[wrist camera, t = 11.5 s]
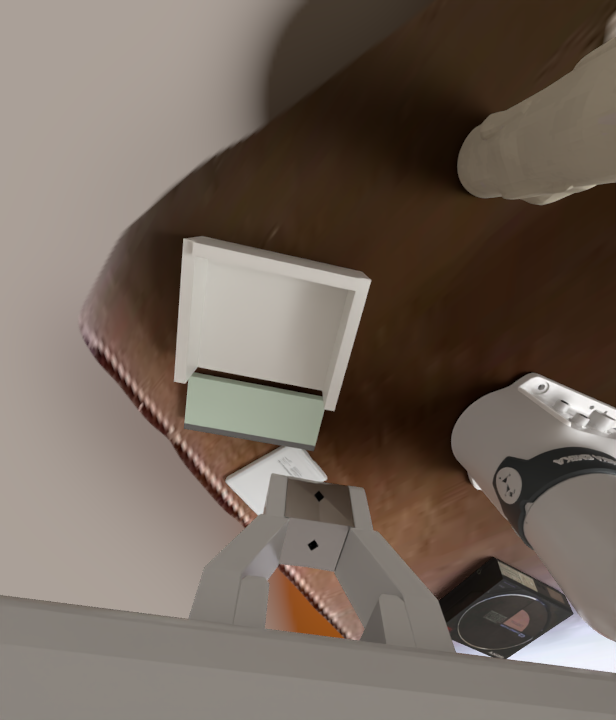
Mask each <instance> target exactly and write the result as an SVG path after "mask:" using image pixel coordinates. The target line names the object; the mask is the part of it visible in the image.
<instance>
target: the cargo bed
mask: <svg viewBox="0 0 616 720" xmlns="http://www.w3.org/2000/svg"><path fill="white" fill-rule="evenodd" d="M370 283H371V279H370V278H368V277H367V276H366V275H365V274H364V273H363V272H362V271H357V270H353V269H348V268H344V267H339V266H335V265H330V264H326V263H321V262H317V261H312V260H308V259H303V258H299V257H294V256H290V255H285V254H281V253H276V252H272V251H267V250H263V249H258V248H254V247H249V246H245V245H240V244H236V243H231V242H227V241H222V240H218V239H213V238H209V237H204V236H199V237H192V238H184V239H183V253H182V268H181V283H180V298H179V314H178V329H177V344H176V359H175V374H174V382H179V383H184V384H185V383H186V382H187V381H188V379H189V378H190V377H191V375H192V374H193V373H194V371H195V370H196V369H197V367H200V368H205V369H210V370H216V371H221V372H226V373H232V374H237V375H242V376H247V377H253V378H258V379H263V380H269V381H274V382H279V383H284V384H290V385H295V386H300V387H305V388H311V389H316V390H321V391H322V393H323V404H324V409H325V410H330V411H334V410H335V407H336V403H337V400H338V396H339V393H340V389H341V386H342V382H343V378H344V375H345V371H346V368H347V364H348V361H349V357H350V354H351V350H352V347H353V343H354V340H355V336H356V332H357V329H358V325H359V322H360V318H361V315H362V311H363V308H364V304H365V301H366V297H367V294H368V290H369V287H370Z"/></svg>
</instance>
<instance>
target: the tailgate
mask: <svg viewBox="0 0 616 720" xmlns="http://www.w3.org/2000/svg"><path fill="white" fill-rule="evenodd" d="M324 410H325V409H324V404H323V396H317V395H312V394H307V393H301V392H296V391H291V390H285V389H280V388H275V387H269V386H264V385H259V384H254V383H248V382H243V381H238V380H232V379H227V378H222V377H216V376H211V375H206V374H200V373H195V372H194V373H193V374H192V375H191V377H190V378H189V379H188V389H187V400H186V411H185V422H184V429H189V430H195V431H201V432H206V433H212V434H218V435H224V436H229V437H235V438H241V439H247V440H252V441H258V442H264V443H270V444H275V445H281V446H287V447H293V448H298V449H304V450H310V451H314V448H315V444H316V440H317V437H318V433H319V429H320V425H321V421H322V418H323V414H324Z"/></svg>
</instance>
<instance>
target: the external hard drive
mask: <svg viewBox="0 0 616 720" xmlns="http://www.w3.org/2000/svg"><path fill="white" fill-rule="evenodd" d="M272 473H274V474H280V475H285V476H292V477H297V478H303V479H308V480H313V481H319V482H323V481H325V480H327V475H326V474H325V473H324V472H323V471H322V469H321V468H320V467H319V466H318V465H317V463H316V462H315V461H313V460H312V458H311V457H310V456H309V454H308V452H307V451H306V450H304V449H298V448H293V447H287V446H280V447H278V448H277V449H275V450H273V451H271V452H270V453H268V454H266V455H264V456H263V457H261V458H259V459H257V460H256V461H254V462H252V463H250V464H249V465H247V466H245V467H243V468H241V469H240V470H238V471H236V472H234V473H233V474H231V475H229V476H227V477H226V480H225V481H226V483H227V484H228V485H229V486H230V487H231V488H232V489H233V491H234V492H235V493H236V494H237V495H238V496H239V497H240V498H241V499H242V500H243V501H244V502H245V503H246V504H247V505H248V506H249V507H250V508H251V509H252V510H253V511H254V512H255V513H256V514H257V515H260V514H263V511H264V506H265V501H266V496H267V491H268V486H269V482H270V477H271V474H272Z"/></svg>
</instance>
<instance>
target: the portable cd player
mask: <svg viewBox="0 0 616 720" xmlns="http://www.w3.org/2000/svg"><path fill="white" fill-rule="evenodd" d="M438 602H439V604H440V607H441V610H442V613H443V616H444V619H445V622H446V625H447V628H448V631H449V634H450V637H451V640H454V641H456V642H458V643H461V644H463V645H465V646H468V647H470V648H472V649H475V650H477V651H479V652H482V653H484V654H486V655H489V656H491V657H493V658H501V659H507V658H508V657H510V656H511V655H513V654H514V653H516V652H517V651H519V650H520V649H522V648H523V647H525V646H526V645H528V644H529V643H531V642H532V641H534V640H535V639H537V638H538V637H540V636H541V635H543V634H544V633H546V632H547V631H549V630H550V629H552V628H553V627H555V626H556V625H558V624H559V623H561V622H562V621H564V620H565V619H567V618H568V617H570V616H571V615H573V612H572V610H571V607H570V605H569V603H568V601H567V599H566V596H565V595H564V594H562V593H561V592H559V591H557V590H555V589H554V588H552V587H550V586H548V585H546V584H544V583H542V582H540V581H538V580H536V579H534V578H532V577H530V576H528V575H527V574H525V573H523V572H521V571H519V570H517V569H515V568H513V567H511V566H509V565H507V564H505V563H503V562H501V561H500V560H498V559H496V558H494V557H493V558H491V559H490V560H489V561H488V562H486V563H485V564H484V565H483V566H482V567H480V568H479V569H478V570H477V571H475V572H474V573H473V574H472V575H470V576H469V577H468V578H467V579H466V580H464V581H463V582H462V583H461V584H459V585H458V586H457V587H456V588H454V589H453V590H452V591H451V592H450V593H448V594H447V595H446V596H445V597H443V598H442V599H441V600H440V601H438Z"/></svg>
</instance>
